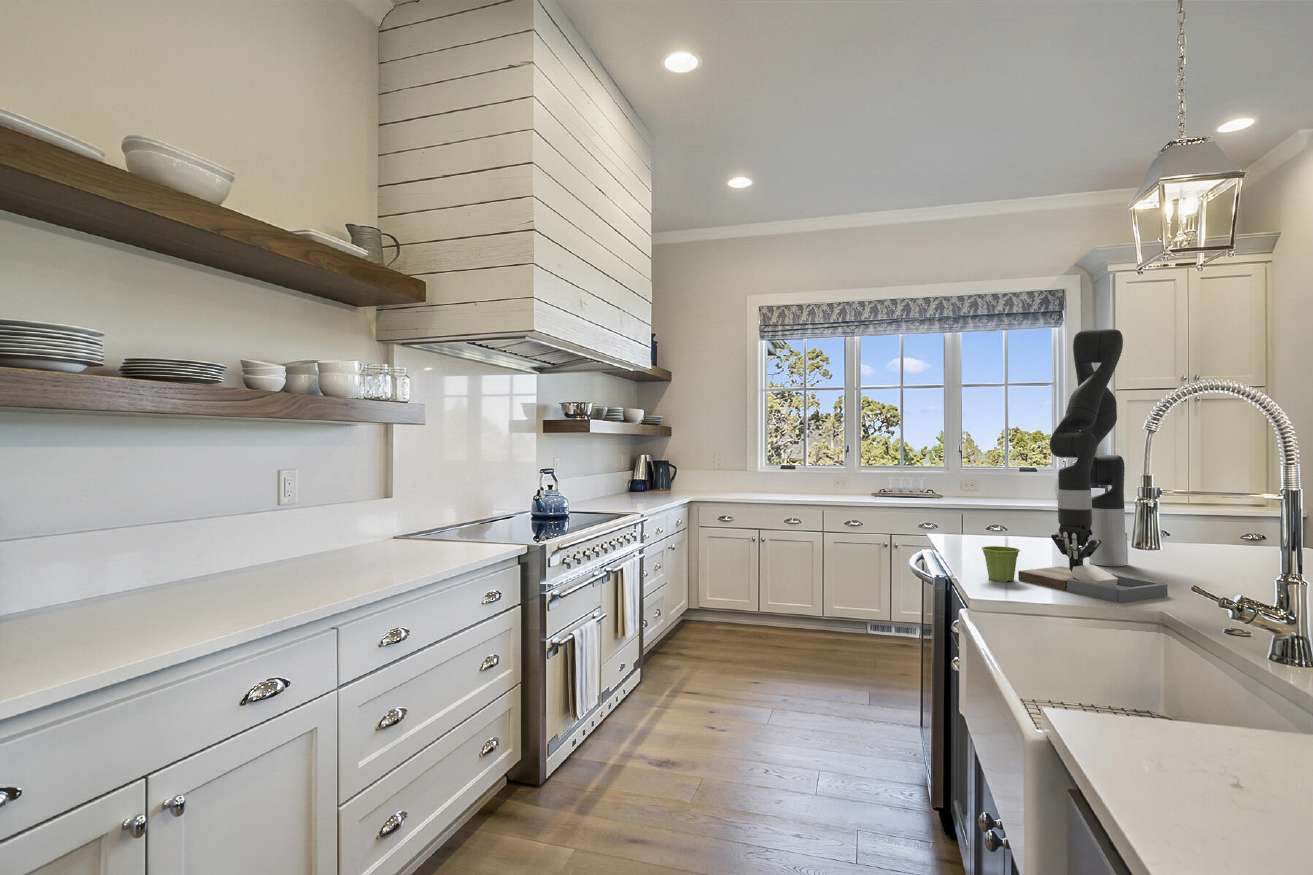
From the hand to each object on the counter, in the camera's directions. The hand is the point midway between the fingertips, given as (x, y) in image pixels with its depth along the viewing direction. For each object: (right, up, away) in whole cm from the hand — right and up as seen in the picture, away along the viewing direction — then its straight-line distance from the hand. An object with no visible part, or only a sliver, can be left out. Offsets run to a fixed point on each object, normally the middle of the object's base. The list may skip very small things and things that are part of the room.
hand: (1076, 572), depth 170 cm
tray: (+4, -3, -9) cm, 11 cm away
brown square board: (-1, -3, +4) cm, 5 cm away
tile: (+2, -1, -4) cm, 5 cm away
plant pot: (-15, -4, +8) cm, 18 cm away
